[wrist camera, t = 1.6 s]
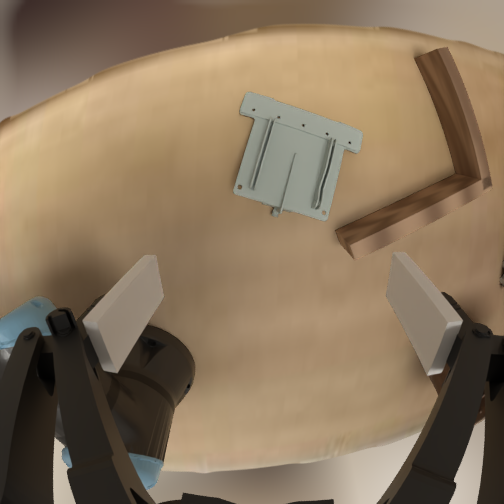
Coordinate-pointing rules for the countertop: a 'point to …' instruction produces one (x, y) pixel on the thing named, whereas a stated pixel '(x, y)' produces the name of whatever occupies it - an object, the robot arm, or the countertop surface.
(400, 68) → the countertop surface
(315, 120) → the metal bracket
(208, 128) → the countertop surface
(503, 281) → the egg carton
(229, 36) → the countertop surface
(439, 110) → the wooden corner frame
